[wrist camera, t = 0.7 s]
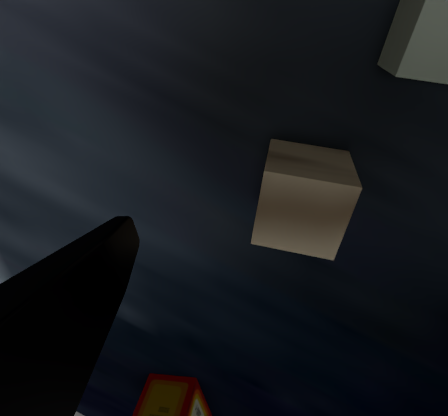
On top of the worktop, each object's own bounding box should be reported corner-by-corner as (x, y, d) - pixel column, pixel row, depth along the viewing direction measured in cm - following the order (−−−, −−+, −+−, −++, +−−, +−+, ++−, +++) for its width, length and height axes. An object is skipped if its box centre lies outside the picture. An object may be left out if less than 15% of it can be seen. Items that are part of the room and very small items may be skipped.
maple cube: (326, 214, 22) (333, 260, 18) (259, 201, 23) (250, 243, 19) (348, 150, 20) (362, 187, 15) (271, 138, 20) (264, 170, 16)
